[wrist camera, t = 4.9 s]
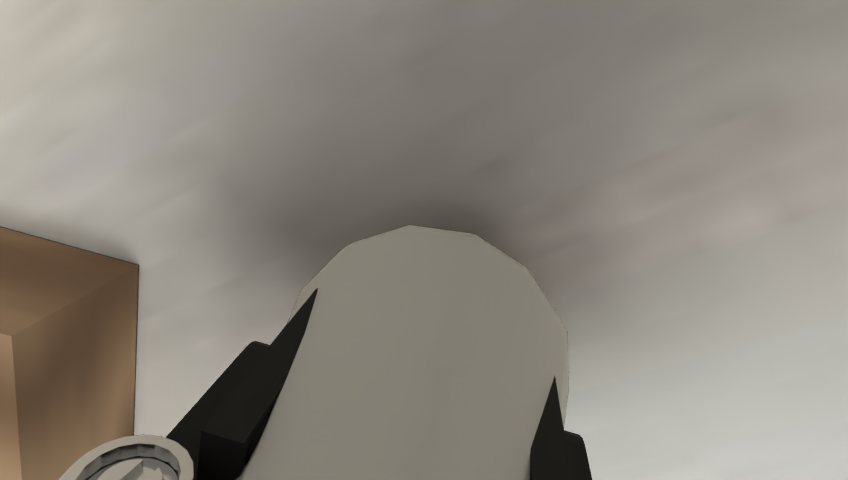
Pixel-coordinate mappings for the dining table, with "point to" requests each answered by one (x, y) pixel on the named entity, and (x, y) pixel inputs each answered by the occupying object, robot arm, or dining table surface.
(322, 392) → the salt shaker
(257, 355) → the robot arm
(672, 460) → the dining table surface
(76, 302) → the block
